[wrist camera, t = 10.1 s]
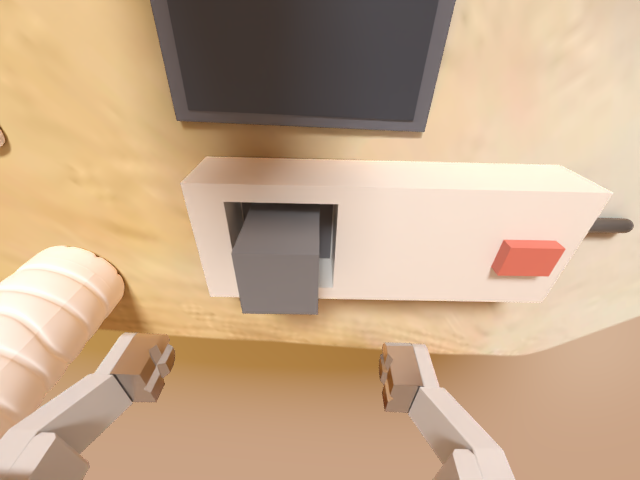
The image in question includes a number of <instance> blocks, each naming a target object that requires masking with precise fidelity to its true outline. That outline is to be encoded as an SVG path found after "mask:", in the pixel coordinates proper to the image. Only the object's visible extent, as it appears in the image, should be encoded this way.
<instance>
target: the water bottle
mask: <svg viewBox="0 0 640 480" xmlns="http://www.w3.org/2000/svg"><path fill="white" fill-rule="evenodd" d="M124 288H125V286H124V282H123V279H122V277H121V276H120V275H119V274H117V270H116V269H115V268H114V267H113V266H112V265H111V264H110V263H109V262H108V261H106V260H105V259H103V258H101V257H96V255H95V254H94V253H92V252H90V251H88V250H85V249H82V248H78V247H67V246H53V247H49V248H47V249H45V250H43V251H41V252H39V253H38V254H36V255H35V256H34V257H33V258H31V259H30V260H29V261H27V262H26V263H25V264H24V265H22V266H21V267H20V268H19V269H18V270H17V271H16V272H15V273H14V274H12V275H10V276H9V277H7V278H6V279H4V280H3V281H1V282H0V439H1V438H2V437H3V436H4V434H5V433H6V432H7V431H8V429H10V428H11V427H13V426H14V425H16V424H17V423H19V422H20V421H21V420H23V419H24V418H26V417H27V416H29V415H30V414H32V413H33V412H35V411H36V410H37V408H38V407H39V405H40V404H41V402H42V401H43V399H44V397H45V394H46V393H48V392H49V391H50V390H51V389H52V388H53V387H54V386H55V385H56V383H57V382H58V381H59V380H60V378H61V377H62V375H63V374H64V373H65V371H66V369H67V367H68V364H70V363H71V362H72V361H73V360H74V359H75V358H76V357H77V356H78V355H79V353H80V352H81V351H82V349H83V348H84V346H85V344H86V342H87V341H88V340H89V339H90V338H91V337H92V336H93V335H94V334H95V332H96V331H97V330H98V328H99V327H100V326H101V324H102V322H103V320H105V319H106V318H107V317H108V315H109V314H110V313H111V312H112V311H113V309H114V308H115V306H116V305H117V304H118V303H119V301H120V300H121V298H122V297H123V294H124Z"/></svg>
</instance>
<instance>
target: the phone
mask: <svg viewBox="0 0 640 480" xmlns="http://www.w3.org/2000/svg"><path fill="white" fill-rule="evenodd" d="M455 1H456V0H150V2H151V6H152V11H153V15H154V20H155V24H156V29H157V33H158V38H159V42H160V47H161V51H162V56H163V61H164V65H165V70H166V74H167V79H168V83H169V88H170V92H171V97H172V101H173V106H174V110H175V115H176V119H177V121H193V122H215V123H237V124H259V125H281V126H303V127H325V128H347V129H369V130H391V131H413V132H424V131H425V127H426V123H427V119H428V114H429V110H430V106H431V102H432V98H433V93H434V89H435V85H436V81H437V77H438V72H439V68H440V64H441V60H442V56H443V51H444V47H445V43H446V39H447V35H448V30H449V26H450V22H451V18H452V14H453V9H454V5H455Z"/></svg>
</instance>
